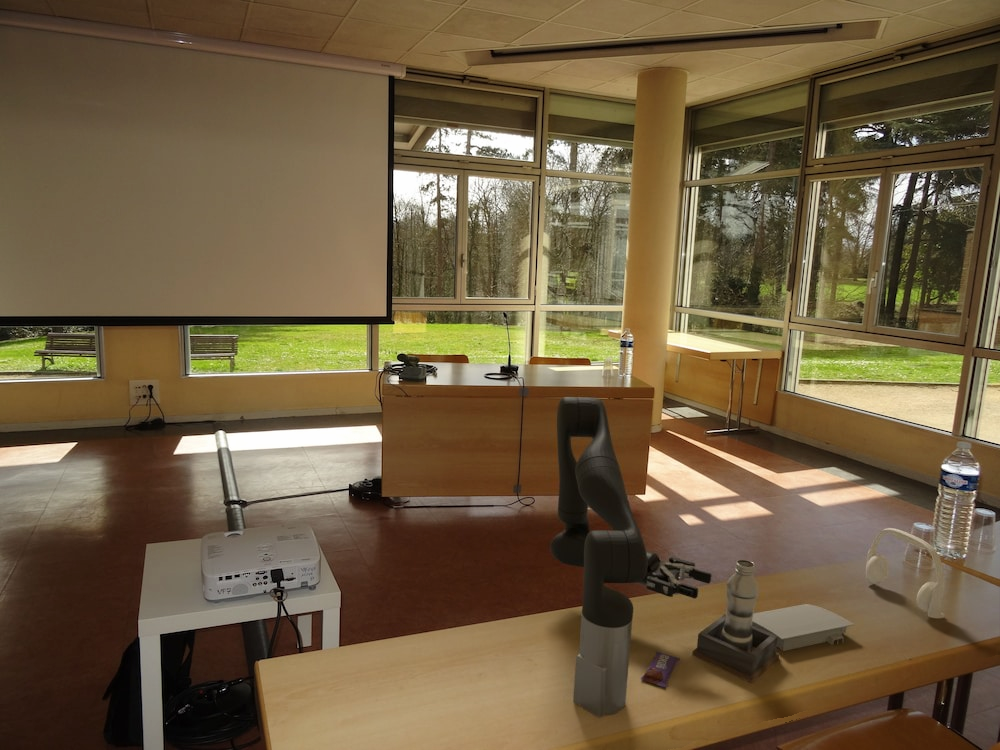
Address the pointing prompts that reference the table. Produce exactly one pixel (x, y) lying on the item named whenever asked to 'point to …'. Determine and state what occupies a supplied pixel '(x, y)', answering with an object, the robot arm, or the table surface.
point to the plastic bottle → (740, 606)
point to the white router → (801, 625)
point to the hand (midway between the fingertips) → (704, 586)
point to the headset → (930, 591)
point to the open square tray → (737, 651)
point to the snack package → (660, 669)
